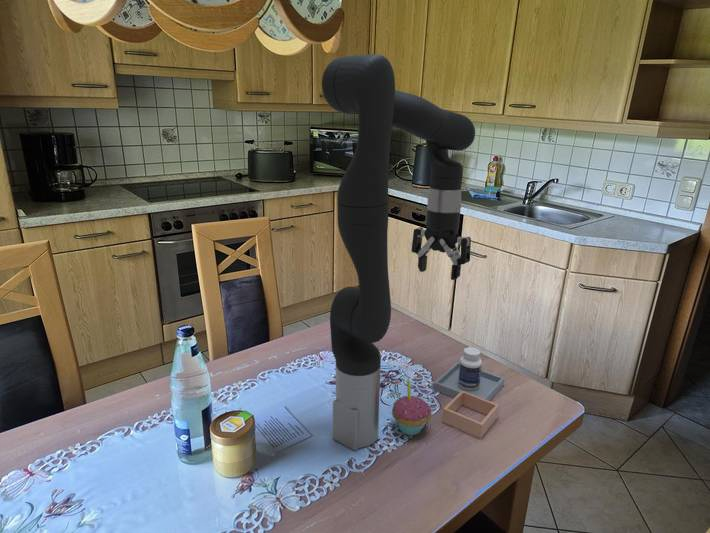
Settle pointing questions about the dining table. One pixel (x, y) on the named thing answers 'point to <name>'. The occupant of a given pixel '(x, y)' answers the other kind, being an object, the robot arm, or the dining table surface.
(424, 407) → the cupcake
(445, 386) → the tray
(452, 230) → the robot arm
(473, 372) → the pill bottle
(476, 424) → the holder
